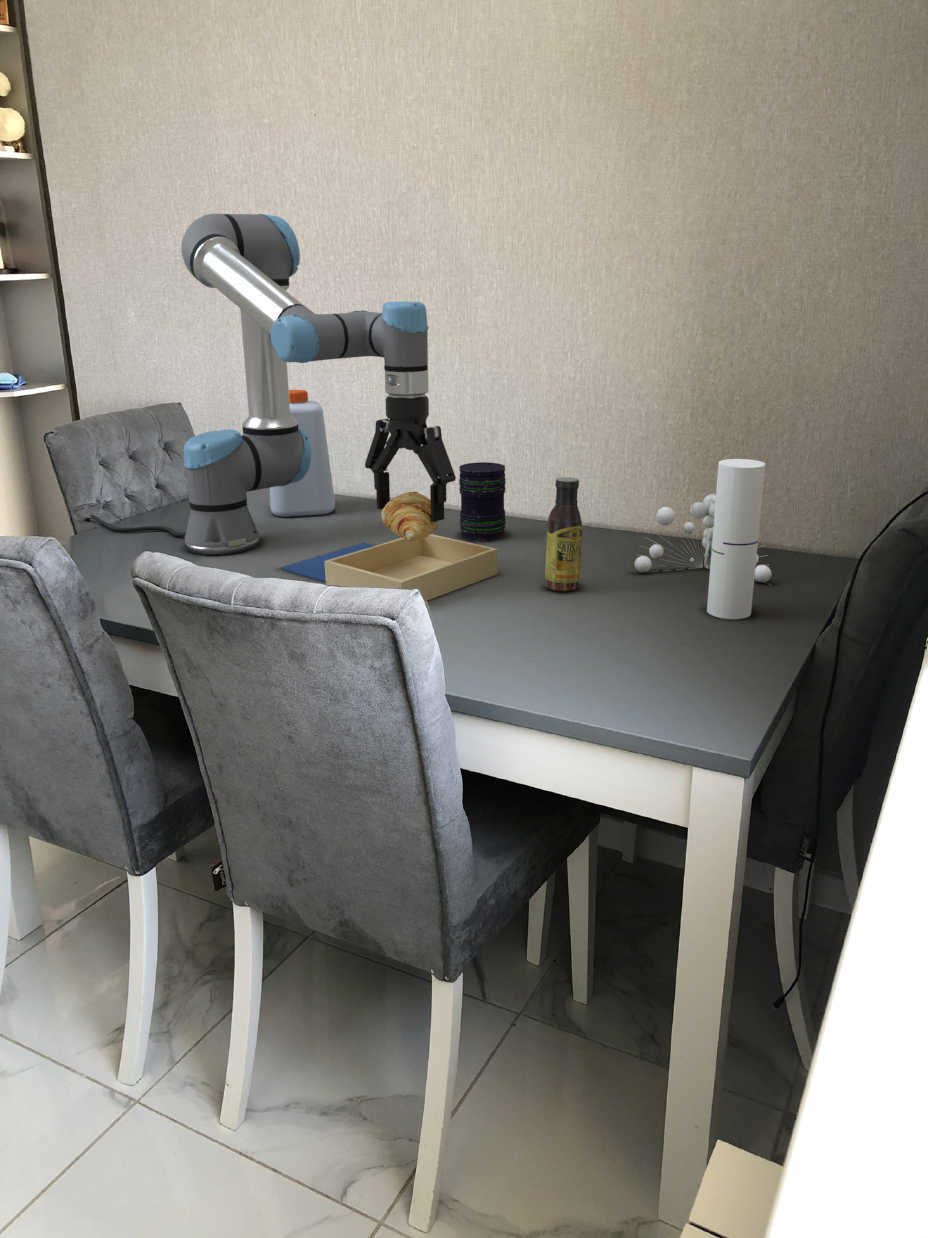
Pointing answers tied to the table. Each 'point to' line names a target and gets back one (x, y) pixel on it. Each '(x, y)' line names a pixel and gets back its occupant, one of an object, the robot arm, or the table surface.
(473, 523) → the storage jar
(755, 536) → the cylindrical container
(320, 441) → the plastic bottle
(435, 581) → the wooden tray
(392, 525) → the croissant
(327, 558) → the cloth mat
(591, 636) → the table surface
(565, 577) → the sauce bottle
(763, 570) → the decorative flower
